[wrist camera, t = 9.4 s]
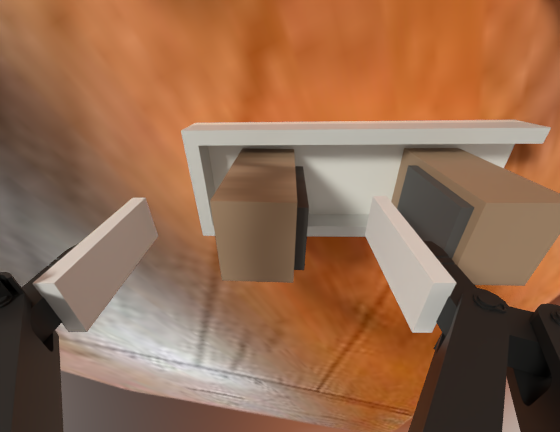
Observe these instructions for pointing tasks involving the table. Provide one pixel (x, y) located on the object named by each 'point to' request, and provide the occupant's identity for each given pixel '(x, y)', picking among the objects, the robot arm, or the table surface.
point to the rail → (403, 183)
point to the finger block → (261, 217)
